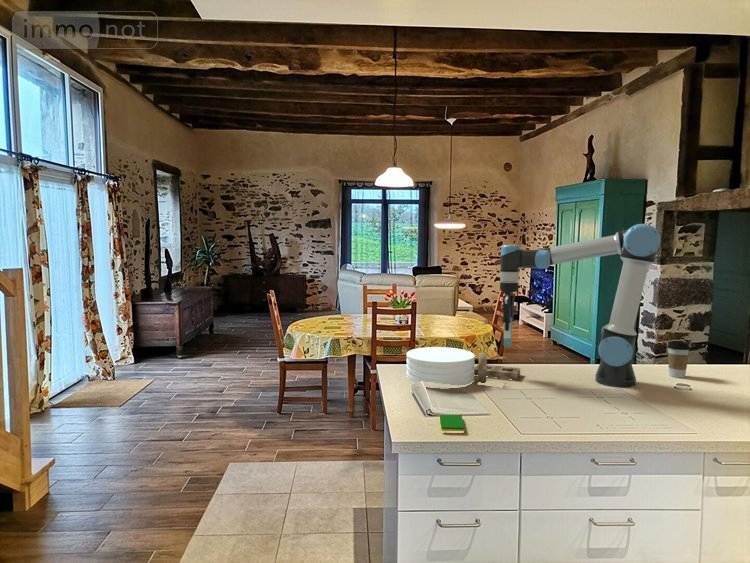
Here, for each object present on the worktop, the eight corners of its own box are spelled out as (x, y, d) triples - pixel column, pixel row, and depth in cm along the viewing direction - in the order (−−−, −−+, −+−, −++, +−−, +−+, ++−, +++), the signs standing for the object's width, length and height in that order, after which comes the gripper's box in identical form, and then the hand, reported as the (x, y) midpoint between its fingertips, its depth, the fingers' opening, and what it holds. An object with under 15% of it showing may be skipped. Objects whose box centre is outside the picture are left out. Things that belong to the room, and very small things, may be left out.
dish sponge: (460, 419, 168) (460, 412, 168) (464, 435, 154) (464, 427, 154) (438, 418, 169) (438, 411, 169) (441, 434, 155) (441, 427, 155)
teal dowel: (512, 345, 217) (512, 317, 216) (510, 347, 214) (511, 318, 213) (504, 344, 218) (505, 317, 217) (502, 346, 215) (503, 318, 214)
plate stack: (397, 375, 223) (397, 349, 222) (457, 370, 230) (457, 345, 229) (420, 393, 196) (420, 364, 195) (486, 388, 203) (487, 359, 202)
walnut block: (520, 376, 220) (520, 368, 219) (516, 382, 211) (516, 373, 210) (478, 371, 227) (478, 363, 227) (472, 377, 218) (473, 369, 218)
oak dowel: (487, 382, 209) (487, 353, 208) (485, 384, 206) (485, 354, 205) (479, 381, 210) (479, 352, 209) (477, 383, 207) (477, 354, 206)
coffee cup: (668, 378, 217) (670, 343, 215) (663, 373, 225) (665, 339, 223) (691, 379, 214) (692, 344, 213) (685, 374, 222) (687, 340, 221)
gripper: (503, 280, 222) (502, 333, 224) (496, 282, 208) (494, 339, 210) (521, 280, 219) (520, 334, 221) (515, 283, 205) (513, 341, 207)
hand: (507, 337), depth 216 cm, fingers closed on teal dowel, 3 cm apart
